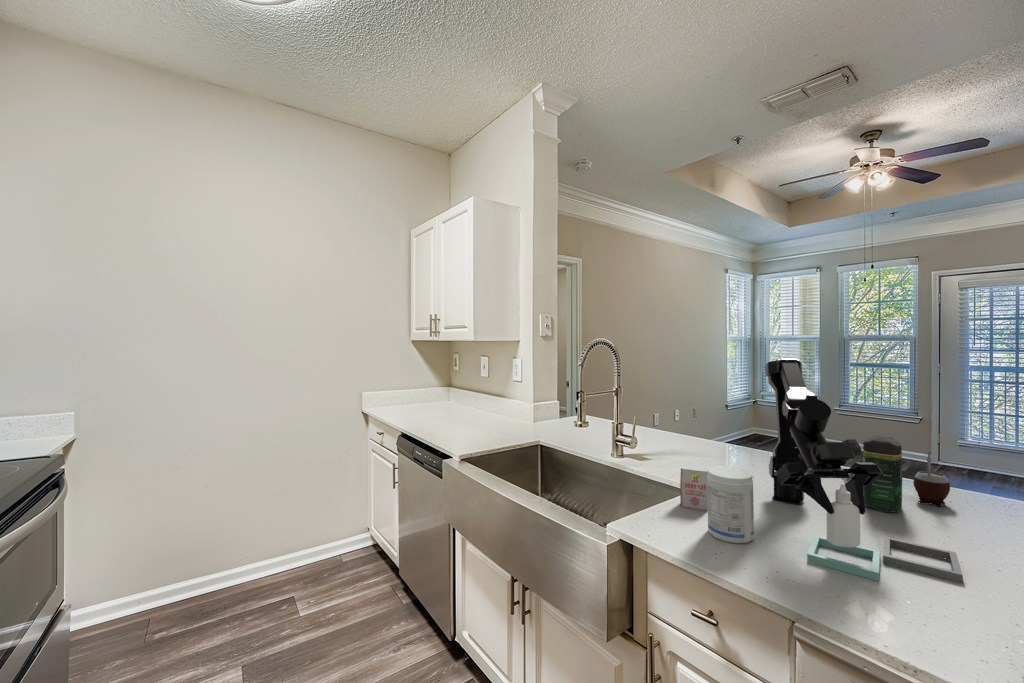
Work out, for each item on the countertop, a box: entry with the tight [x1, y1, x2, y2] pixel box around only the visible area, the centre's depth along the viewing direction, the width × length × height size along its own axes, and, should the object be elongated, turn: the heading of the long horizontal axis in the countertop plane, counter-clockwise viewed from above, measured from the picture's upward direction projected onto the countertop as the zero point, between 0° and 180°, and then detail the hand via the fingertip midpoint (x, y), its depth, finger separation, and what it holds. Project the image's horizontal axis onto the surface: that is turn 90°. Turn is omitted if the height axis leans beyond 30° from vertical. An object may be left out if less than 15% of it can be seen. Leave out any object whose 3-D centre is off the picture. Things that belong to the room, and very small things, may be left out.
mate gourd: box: [913, 451, 951, 509], centre depth 115 cm, size 8×8×15 cm
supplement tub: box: [707, 465, 755, 544], centre depth 98 cm, size 10×10×15 cm
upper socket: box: [882, 535, 964, 584], centre depth 86 cm, size 11×11×2 cm
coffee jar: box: [862, 435, 903, 513], centre depth 114 cm, size 10×8×19 cm
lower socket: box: [806, 534, 881, 582], centre depth 87 cm, size 11×11×2 cm
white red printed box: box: [679, 468, 708, 512], centre depth 115 cm, size 4×7×10 cm, turn 63°
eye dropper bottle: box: [826, 484, 861, 547], centre depth 87 cm, size 4×6×12 cm
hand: (847, 513), depth 86 cm, fingers closed on eye dropper bottle, 6 cm apart
